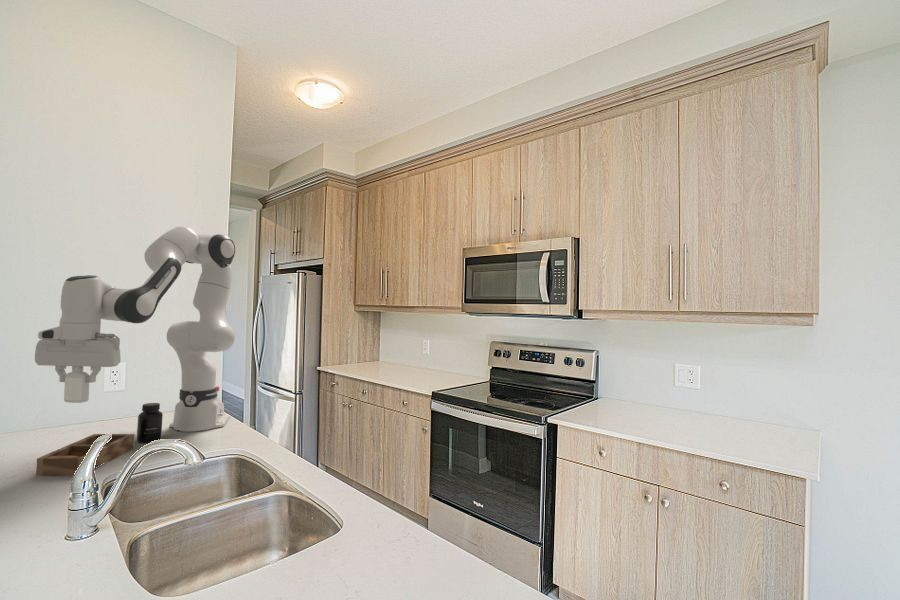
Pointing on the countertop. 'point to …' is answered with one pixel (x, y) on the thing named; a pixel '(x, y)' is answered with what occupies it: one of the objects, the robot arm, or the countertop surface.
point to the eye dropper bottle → (76, 386)
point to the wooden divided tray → (82, 454)
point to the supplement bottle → (149, 423)
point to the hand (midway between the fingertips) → (77, 382)
